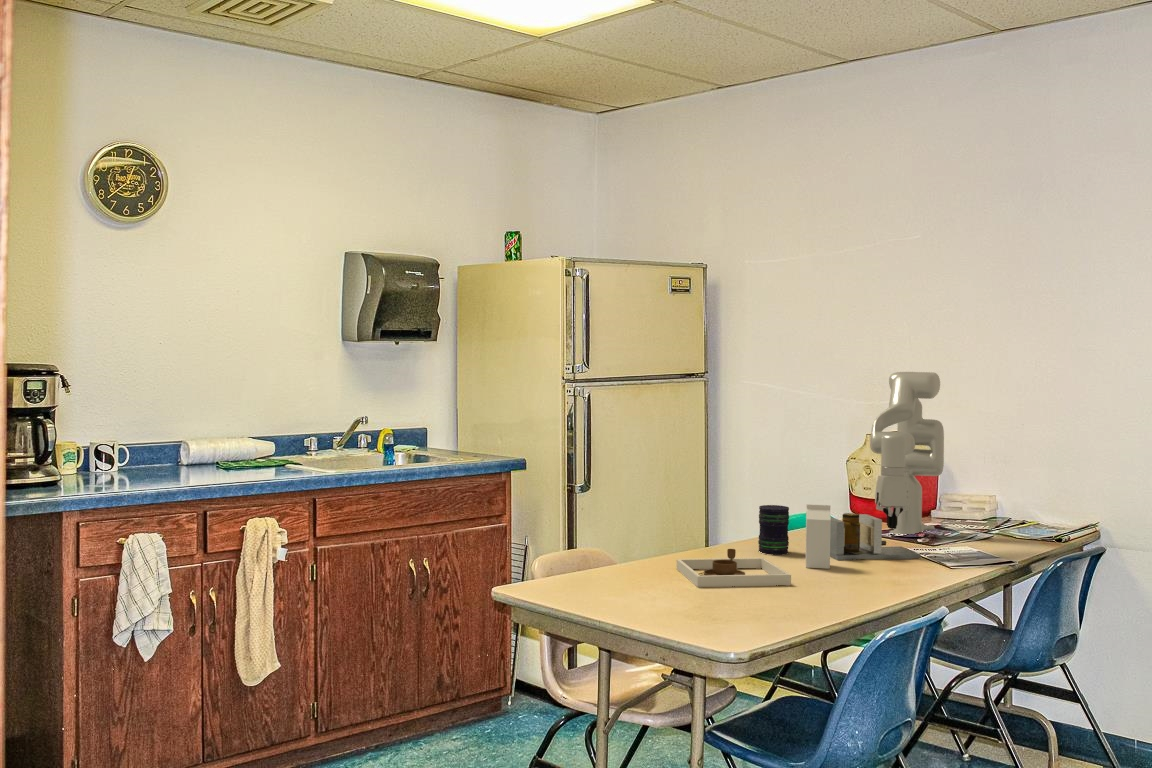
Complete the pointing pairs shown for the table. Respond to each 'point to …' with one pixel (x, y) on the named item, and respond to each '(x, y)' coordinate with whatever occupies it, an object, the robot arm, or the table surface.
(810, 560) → the milk carton
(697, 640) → the table surface
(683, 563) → the serving tray rim
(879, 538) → the block
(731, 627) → the table surface
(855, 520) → the condiment
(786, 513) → the storage jar
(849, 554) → the vise base
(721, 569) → the place setting
